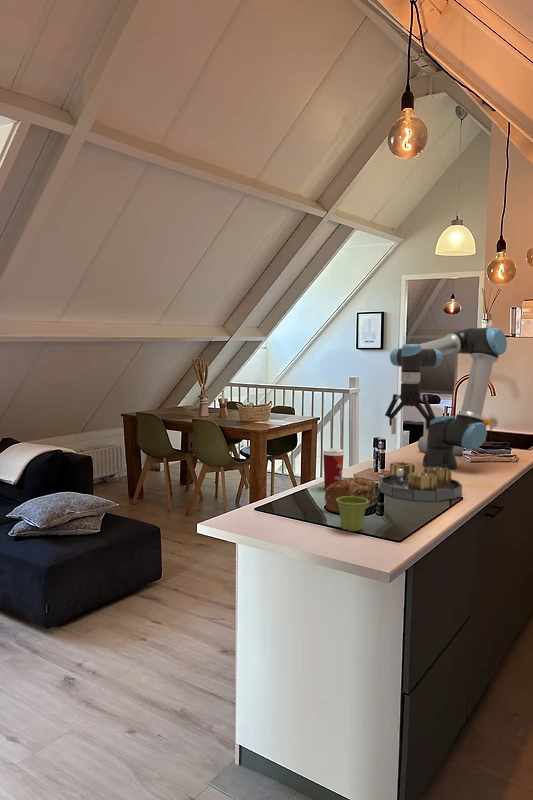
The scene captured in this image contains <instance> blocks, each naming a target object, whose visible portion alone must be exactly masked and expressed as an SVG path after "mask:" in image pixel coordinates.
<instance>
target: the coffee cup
mask: <svg viewBox="0 0 533 800" xmlns="http://www.w3.org/2000/svg"><path fill="white" fill-rule="evenodd" d="M322 455H323V480H324V481H323V482H324V489H325V491H326V489H327V488H328V487H329V486H330V485H331V484H333V483H334V482H338V481H340V480H343V479H342V478H343V465H344V455H345V453H344V450H343V449H341V448H325V449H323V452H322Z"/></svg>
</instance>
